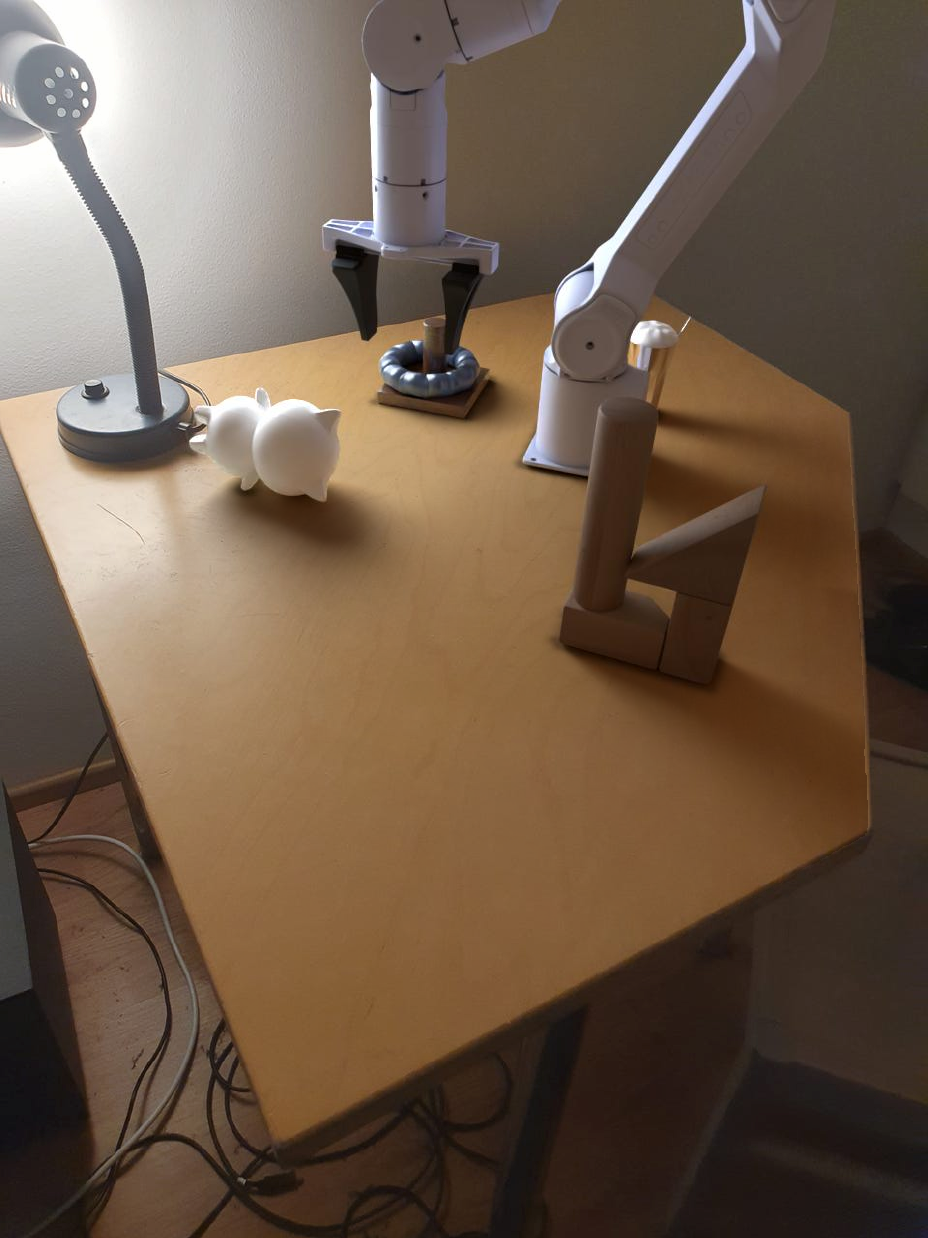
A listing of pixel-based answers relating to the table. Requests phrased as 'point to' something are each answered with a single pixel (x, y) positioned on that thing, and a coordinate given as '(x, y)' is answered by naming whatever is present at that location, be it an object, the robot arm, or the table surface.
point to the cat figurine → (272, 443)
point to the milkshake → (653, 353)
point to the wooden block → (651, 559)
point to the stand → (434, 365)
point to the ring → (427, 383)
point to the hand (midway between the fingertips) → (410, 343)
